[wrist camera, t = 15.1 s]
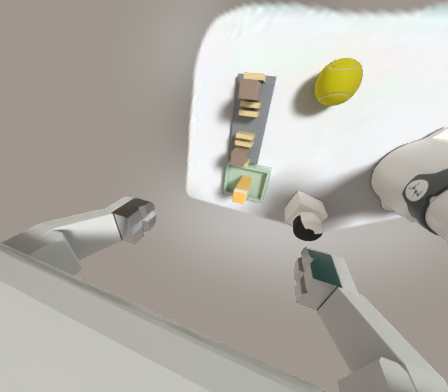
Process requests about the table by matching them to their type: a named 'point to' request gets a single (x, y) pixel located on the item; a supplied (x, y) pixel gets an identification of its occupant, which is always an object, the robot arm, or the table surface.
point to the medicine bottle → (305, 216)
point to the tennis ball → (338, 81)
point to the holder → (250, 117)
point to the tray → (255, 171)
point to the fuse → (242, 189)
